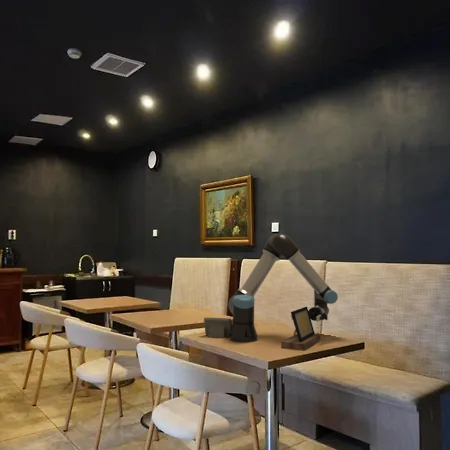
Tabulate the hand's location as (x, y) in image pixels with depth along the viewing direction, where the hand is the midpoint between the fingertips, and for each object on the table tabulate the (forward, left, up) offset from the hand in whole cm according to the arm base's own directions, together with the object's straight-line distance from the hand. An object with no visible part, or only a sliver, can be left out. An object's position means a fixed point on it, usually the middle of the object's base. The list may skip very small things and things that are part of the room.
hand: (304, 318), depth 231 cm
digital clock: (-48, -7, -13) cm, 50 cm away
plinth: (0, -4, -13) cm, 13 cm away
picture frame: (-1, -3, -10) cm, 10 cm away
